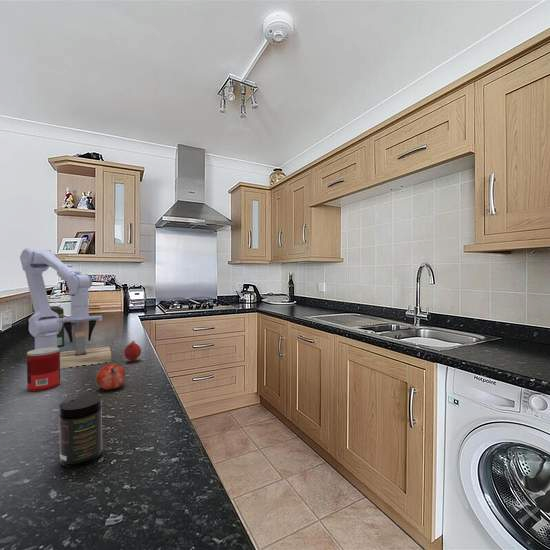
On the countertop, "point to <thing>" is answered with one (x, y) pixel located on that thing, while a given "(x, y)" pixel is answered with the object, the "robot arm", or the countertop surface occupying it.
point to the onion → (132, 351)
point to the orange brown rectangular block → (80, 342)
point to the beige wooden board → (85, 357)
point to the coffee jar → (61, 333)
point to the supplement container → (80, 430)
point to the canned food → (43, 368)
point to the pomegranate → (111, 376)
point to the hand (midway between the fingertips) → (80, 341)
